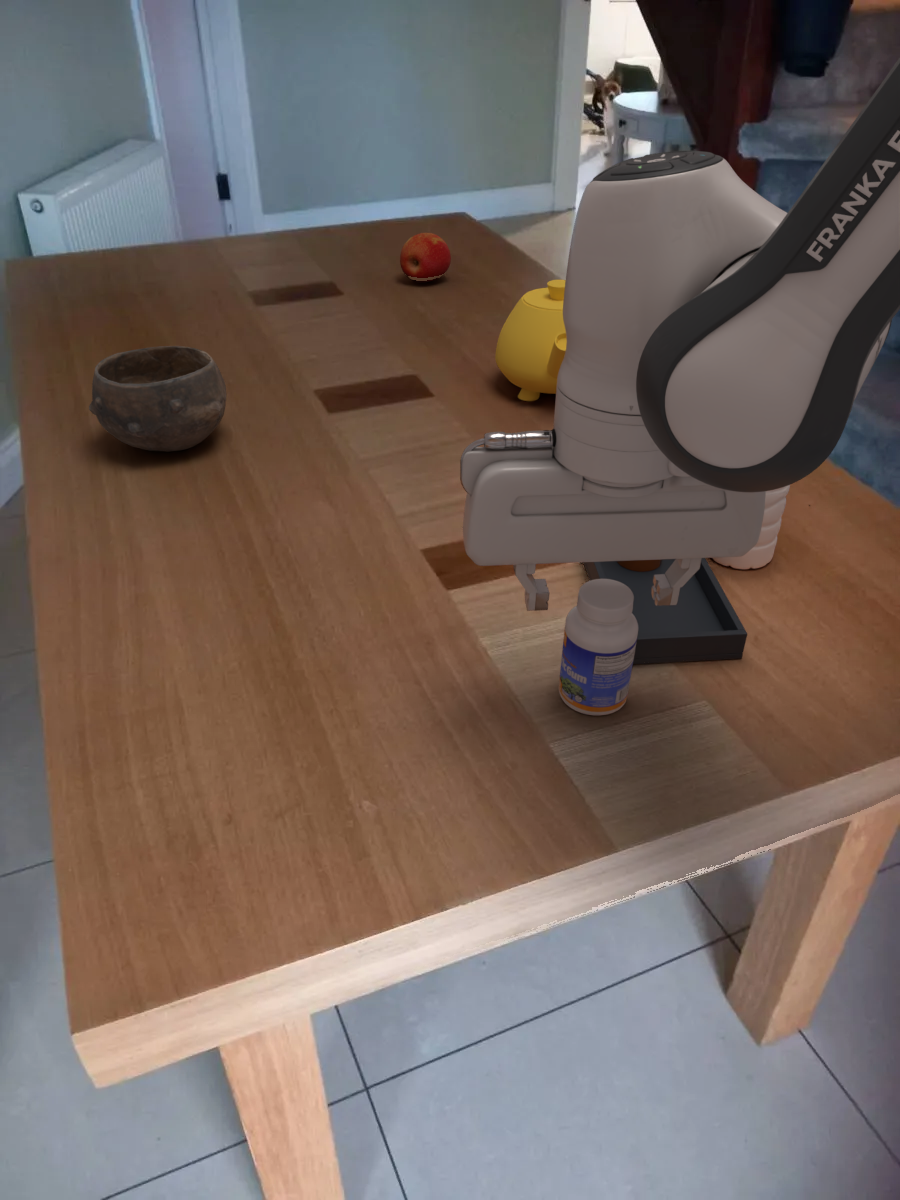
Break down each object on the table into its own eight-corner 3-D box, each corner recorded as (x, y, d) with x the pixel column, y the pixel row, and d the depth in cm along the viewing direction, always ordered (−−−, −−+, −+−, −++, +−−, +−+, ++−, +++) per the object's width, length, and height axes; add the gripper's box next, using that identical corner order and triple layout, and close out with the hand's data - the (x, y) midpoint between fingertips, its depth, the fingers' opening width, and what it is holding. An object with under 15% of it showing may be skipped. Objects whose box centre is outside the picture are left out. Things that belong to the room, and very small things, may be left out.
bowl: (240, 460, 105) (227, 376, 99) (99, 480, 101) (77, 394, 95) (226, 412, 116) (214, 334, 110) (98, 428, 112) (78, 348, 106)
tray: (561, 501, 97) (562, 479, 95) (656, 497, 98) (659, 475, 96) (619, 665, 75) (623, 640, 73) (742, 658, 75) (747, 633, 74)
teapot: (622, 427, 112) (635, 314, 104) (494, 425, 112) (497, 313, 104) (606, 365, 128) (616, 264, 120) (494, 364, 129) (497, 263, 121)
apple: (457, 281, 161) (457, 233, 156) (424, 292, 156) (424, 243, 151) (424, 272, 165) (423, 225, 160) (391, 282, 160) (389, 234, 155)
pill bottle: (547, 679, 73) (555, 579, 68) (609, 666, 75) (622, 566, 69) (575, 724, 69) (586, 621, 63) (640, 710, 70) (656, 607, 65)
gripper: (465, 456, 56) (461, 635, 64) (793, 446, 57) (749, 624, 65) (456, 412, 61) (454, 584, 69) (757, 405, 62) (720, 574, 70)
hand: (599, 603), depth 67 cm, fingers open, 8 cm apart
